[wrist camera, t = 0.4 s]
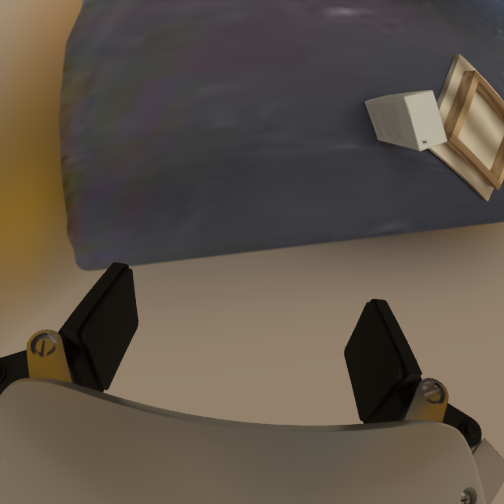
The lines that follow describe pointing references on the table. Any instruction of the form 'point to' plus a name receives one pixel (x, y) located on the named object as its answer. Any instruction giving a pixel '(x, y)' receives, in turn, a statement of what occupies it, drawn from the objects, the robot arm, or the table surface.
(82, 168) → the table surface
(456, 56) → the socket stand
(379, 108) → the skincare box
